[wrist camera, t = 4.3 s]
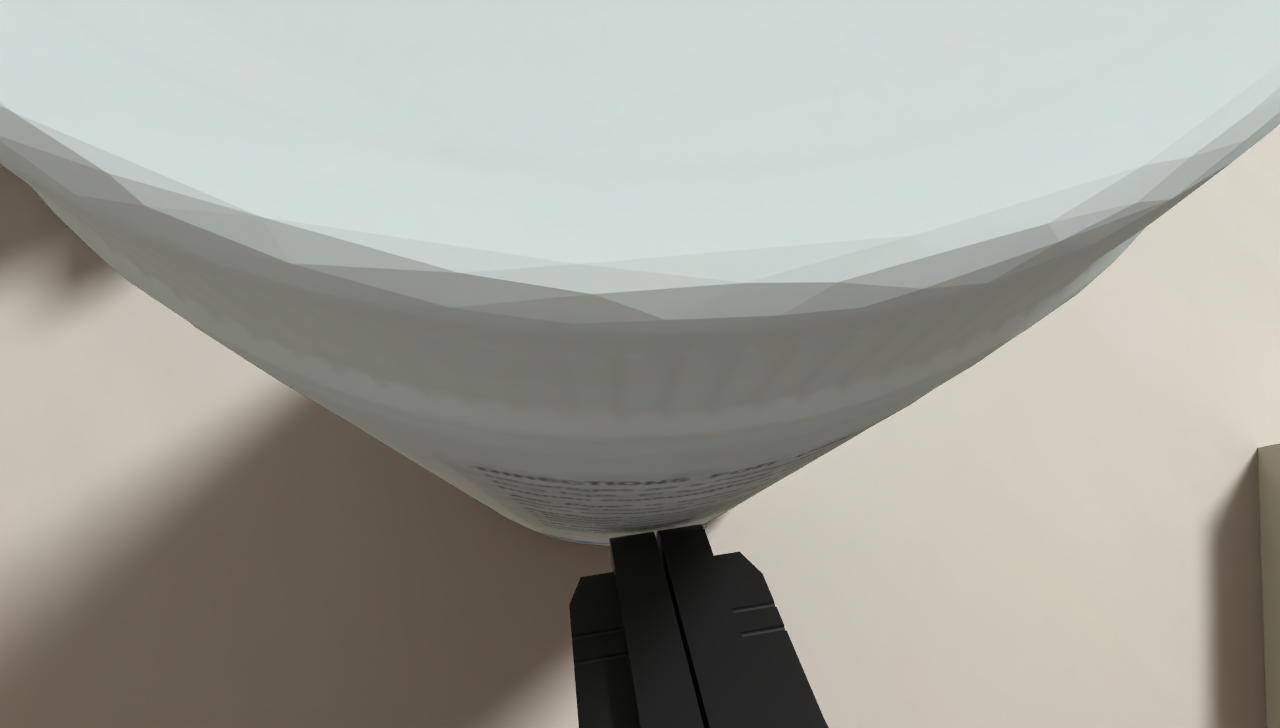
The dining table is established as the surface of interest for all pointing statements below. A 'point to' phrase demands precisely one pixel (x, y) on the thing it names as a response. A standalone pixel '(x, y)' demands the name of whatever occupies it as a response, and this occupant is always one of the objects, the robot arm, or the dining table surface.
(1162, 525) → the dining table surface
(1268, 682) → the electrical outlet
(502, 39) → the supplement tub
